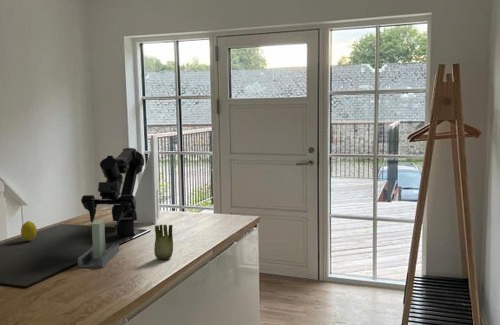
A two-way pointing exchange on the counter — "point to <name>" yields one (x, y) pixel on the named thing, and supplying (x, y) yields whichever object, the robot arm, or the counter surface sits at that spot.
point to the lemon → (28, 230)
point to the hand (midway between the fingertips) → (104, 221)
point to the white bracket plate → (149, 188)
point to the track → (89, 262)
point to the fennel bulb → (163, 242)
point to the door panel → (98, 239)
